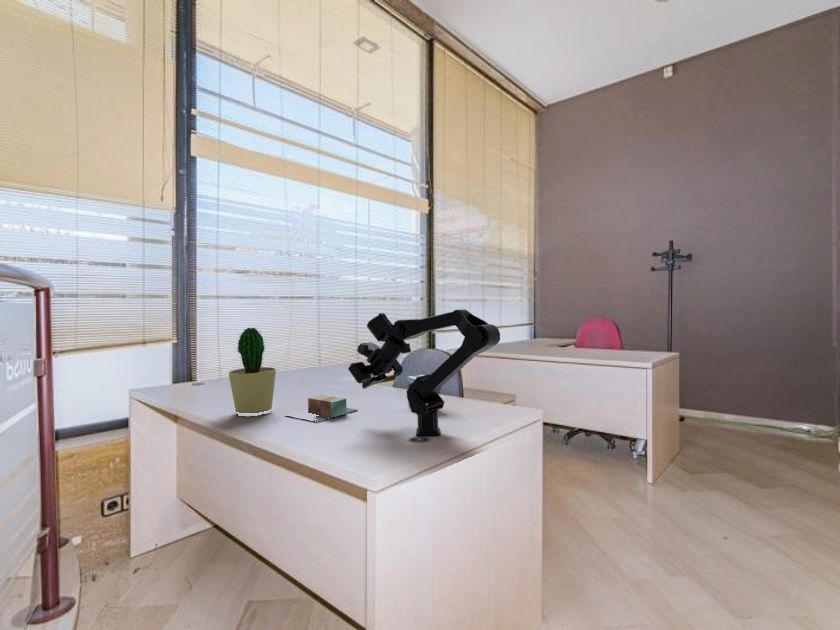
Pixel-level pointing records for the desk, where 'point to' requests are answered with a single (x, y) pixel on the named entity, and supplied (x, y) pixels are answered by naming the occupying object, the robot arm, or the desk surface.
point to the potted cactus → (252, 376)
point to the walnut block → (327, 406)
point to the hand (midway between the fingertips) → (363, 387)
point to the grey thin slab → (331, 417)
